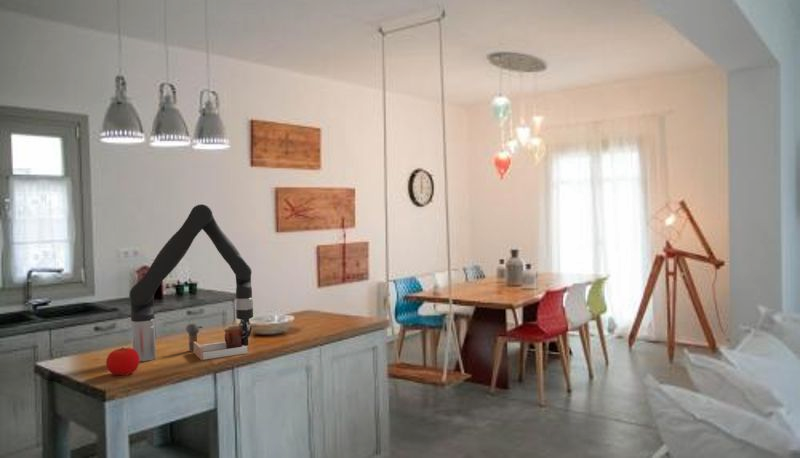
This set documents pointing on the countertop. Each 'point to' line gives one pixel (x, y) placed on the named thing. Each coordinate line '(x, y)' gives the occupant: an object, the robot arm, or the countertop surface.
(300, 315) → the countertop surface
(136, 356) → the tomato
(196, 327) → the winch prop
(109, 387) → the countertop surface
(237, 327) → the mug
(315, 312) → the countertop surface
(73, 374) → the countertop surface
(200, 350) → the tray
